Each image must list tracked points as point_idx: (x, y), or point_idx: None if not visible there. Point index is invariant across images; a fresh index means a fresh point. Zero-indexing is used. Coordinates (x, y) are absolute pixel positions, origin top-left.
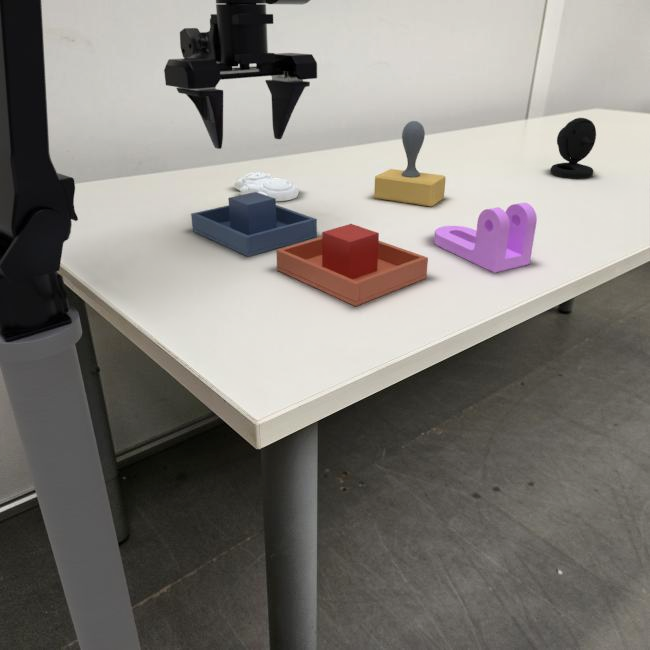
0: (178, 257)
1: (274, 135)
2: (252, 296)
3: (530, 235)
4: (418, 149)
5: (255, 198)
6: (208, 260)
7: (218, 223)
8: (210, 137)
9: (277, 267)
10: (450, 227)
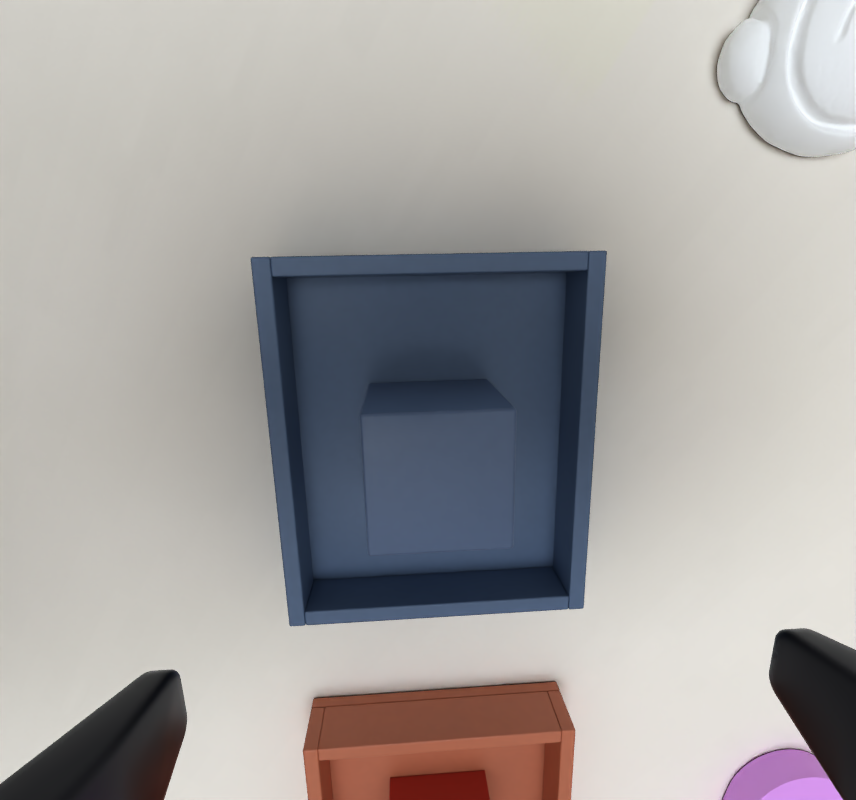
0: (122, 467)
1: (797, 647)
2: (182, 778)
3: None
4: None
5: (448, 499)
6: (192, 541)
7: (282, 449)
8: (61, 743)
9: (312, 707)
10: (825, 791)
